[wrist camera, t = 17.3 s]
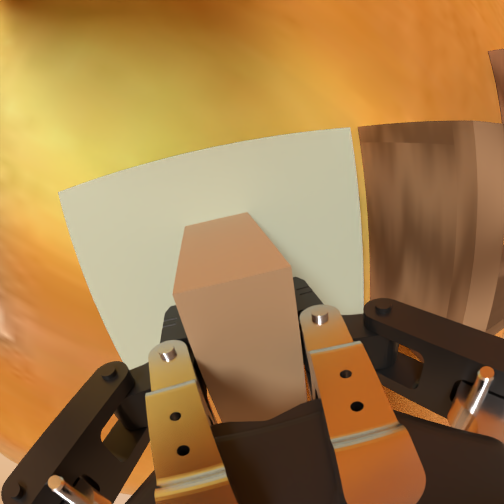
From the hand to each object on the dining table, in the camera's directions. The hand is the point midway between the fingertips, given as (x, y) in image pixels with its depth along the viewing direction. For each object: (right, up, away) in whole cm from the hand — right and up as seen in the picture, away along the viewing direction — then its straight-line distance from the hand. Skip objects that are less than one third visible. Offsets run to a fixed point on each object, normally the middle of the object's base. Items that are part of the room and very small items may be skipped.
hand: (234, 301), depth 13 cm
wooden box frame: (+18, +10, +6) cm, 21 cm away
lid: (-1, +1, +4) cm, 4 cm away
